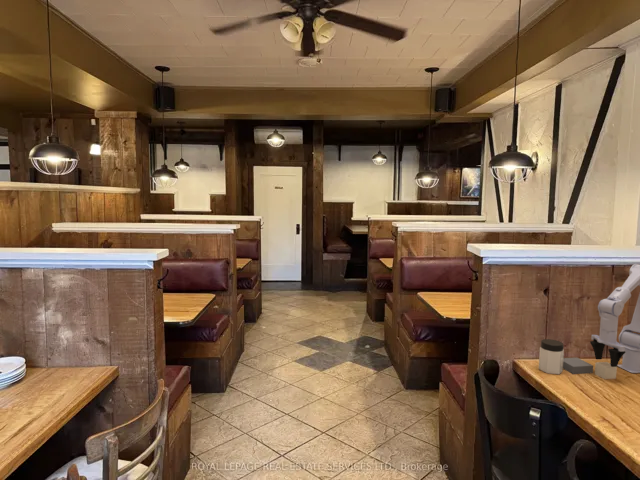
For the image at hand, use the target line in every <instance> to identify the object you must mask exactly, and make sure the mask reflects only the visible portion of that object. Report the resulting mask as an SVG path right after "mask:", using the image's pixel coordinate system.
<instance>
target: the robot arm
mask: <svg viewBox="0 0 640 480" xmlns="http://www.w3.org/2000/svg"><path fill="white" fill-rule="evenodd" d="M628 275H629V276H628V277H627V278H626V279H625V281H624V282H623V284H622V285H621V286H617V287H615V289H613V291H612V292H611V293H610V294H609V295H608V296H607V298H604V299H601V300H600V301H599V302H598V305H597V311H598V315H599V318H600V323H599V335H598V334H591V336H590V337H591V338H590V339H591V341H590V342H589V344H590V345H591V346H592V350H593V352H594V357H595V360H602V359H603V353H604V348H605V347H606V346H608V347H610V348H608V352H609V357H610V358H609V359H610V362H609V363H610V364H611V367H617V368H618V367H619V368H621V369H623V370H625V371H627V372H629V373H631V374H640V292H639V294H638V297H637V301H636V304H635V308H634V312H633V315H632V318H631V322H630V324H626V325H624V326H623V327H622V329H621V331H620V333H619V335H618V326H619V316H620V315H621V314H622V313H623V311H624V309H625V304H626V303H627V302H628V300H630V299H631V297H632V294H631V293H632V291H633V290H635V289H636V288H637V287H638V286H639V287H640V264H638V263H634V264H632V265H631V267H630V268H629V273H628ZM617 339H618V341H619V342H618V341H617ZM621 359H622V361H621ZM620 361H621V364H619V362H620Z"/></svg>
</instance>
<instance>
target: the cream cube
mask: <svg viewBox="0 0 640 480" xmlns="http://www.w3.org/2000/svg"><path fill="white" fill-rule="evenodd" d="M594 367H595V368H594V375H595V376H597V377H600V378H602V379H603V380H616V379H617V370H618V369H617V368H618V366H617V367H611V364H610V362H608V361H599V362H598V361H597V362H595V366H594Z"/></svg>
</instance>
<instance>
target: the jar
mask: <svg viewBox="0 0 640 480" xmlns="http://www.w3.org/2000/svg"><path fill="white" fill-rule="evenodd" d="M564 352H565V349H564V342H562V341H559V340H556V339H549V338H547V339H546V338H545V339H541V340H540V347H539V354H538V355H539V356H538V357H539V358H538V369H539V371H542V372H543V373H546V374H552V375H560V374H561V373H562V372H563V371H564V369H563V358H565V357H564V356H565V353H564Z"/></svg>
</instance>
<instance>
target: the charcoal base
mask: <svg viewBox="0 0 640 480" xmlns="http://www.w3.org/2000/svg"><path fill="white" fill-rule="evenodd" d="M563 370H565V371H566V372H567V373H568V372H569V373H570V374H572V375H578V374H579V375H580V374H583V375H584V374H593V373H594V365H593V364H591V363H590V362H587V361H585V360H584V359H581V358H579V357H564V358H563Z"/></svg>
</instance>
